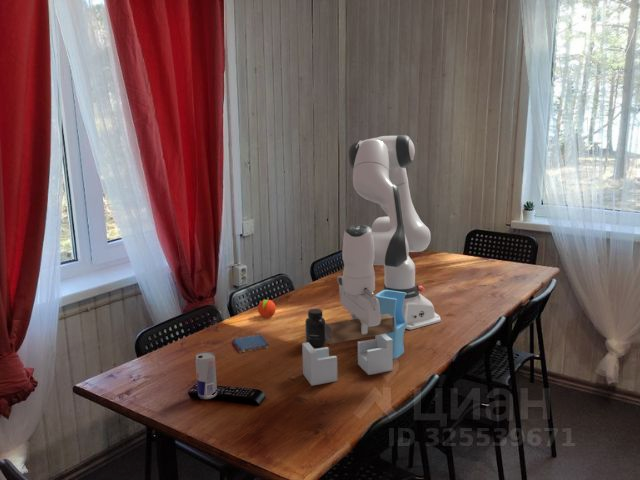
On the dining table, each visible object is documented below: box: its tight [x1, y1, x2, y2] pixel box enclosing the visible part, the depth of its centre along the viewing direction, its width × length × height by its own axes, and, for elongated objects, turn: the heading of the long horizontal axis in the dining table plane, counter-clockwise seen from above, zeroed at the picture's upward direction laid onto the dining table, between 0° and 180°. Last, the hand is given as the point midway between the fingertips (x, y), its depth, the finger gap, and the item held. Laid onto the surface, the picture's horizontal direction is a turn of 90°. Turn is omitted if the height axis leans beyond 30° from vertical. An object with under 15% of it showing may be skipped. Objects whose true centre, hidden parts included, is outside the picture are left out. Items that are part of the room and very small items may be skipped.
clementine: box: [257, 299, 277, 318], centre depth 219 cm, size 8×7×7 cm
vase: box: [374, 289, 406, 360], centre depth 183 cm, size 8×8×20 cm
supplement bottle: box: [304, 308, 326, 349], centre depth 192 cm, size 7×7×12 cm
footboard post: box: [301, 342, 338, 386], centre depth 168 cm, size 8×8×10 cm
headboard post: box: [357, 334, 394, 376], centre depth 174 cm, size 8×8×10 cm
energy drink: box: [194, 351, 218, 400], centre depth 159 cm, size 5×5×12 cm
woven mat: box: [232, 333, 270, 354], centre depth 194 cm, size 10×11×2 cm
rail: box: [325, 313, 394, 345], centre depth 161 cm, size 20×4×4 cm, turn 110°
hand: (360, 330), depth 161 cm, fingers closed on rail, 3 cm apart
